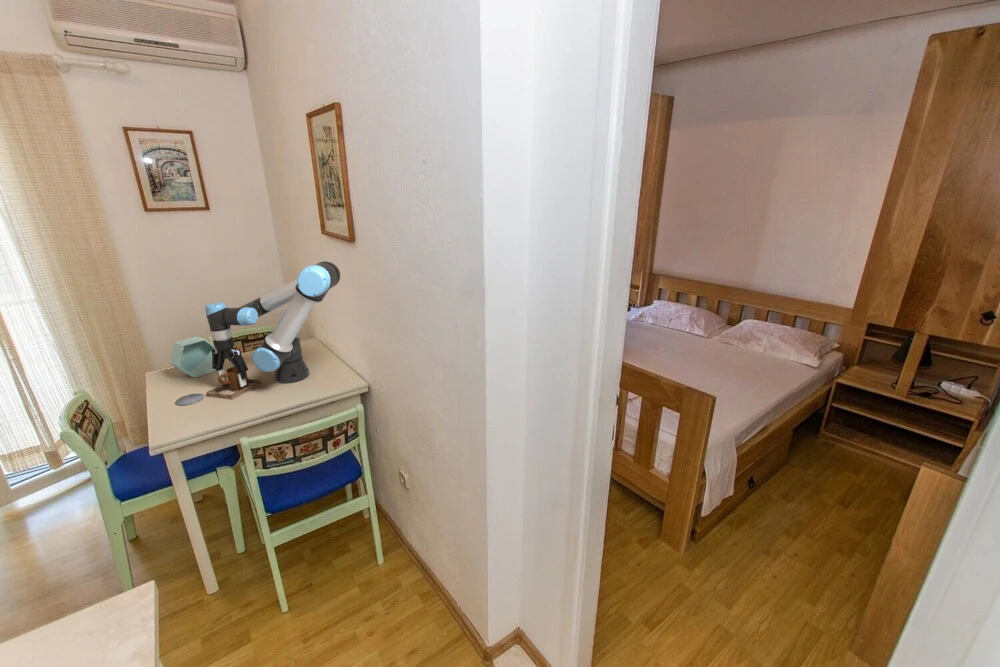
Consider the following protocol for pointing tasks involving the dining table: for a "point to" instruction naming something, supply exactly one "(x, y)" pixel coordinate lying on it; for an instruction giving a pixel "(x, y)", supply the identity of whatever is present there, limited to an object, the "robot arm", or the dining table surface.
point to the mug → (232, 379)
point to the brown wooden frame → (218, 395)
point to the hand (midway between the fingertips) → (234, 384)
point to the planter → (193, 356)
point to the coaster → (189, 399)
